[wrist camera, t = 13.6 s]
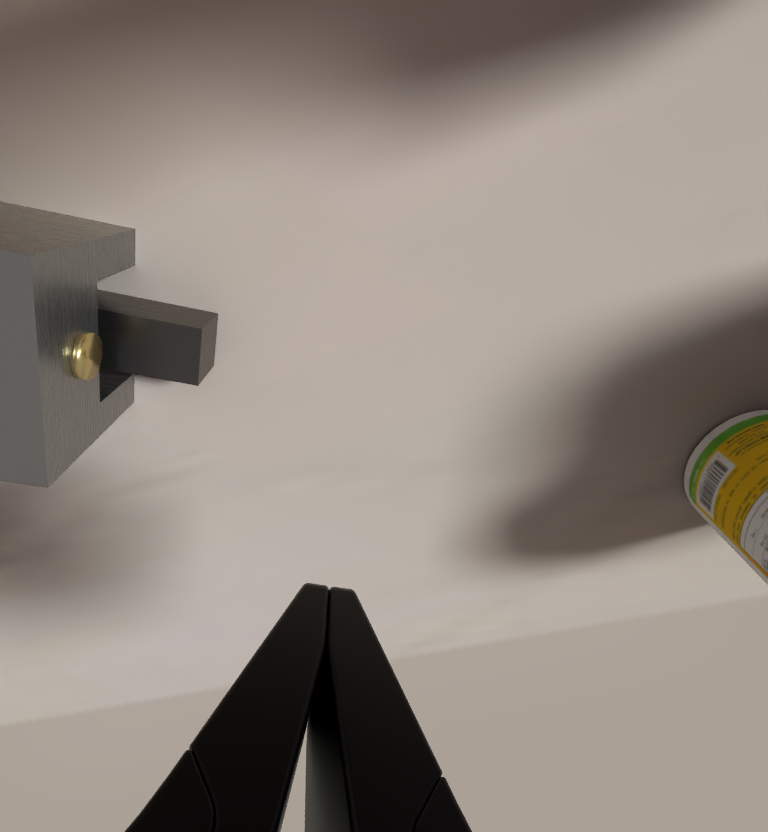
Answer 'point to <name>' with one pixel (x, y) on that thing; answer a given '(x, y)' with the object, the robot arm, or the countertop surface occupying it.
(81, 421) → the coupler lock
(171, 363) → the coupler rail
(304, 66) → the countertop surface
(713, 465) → the supplement bottle
